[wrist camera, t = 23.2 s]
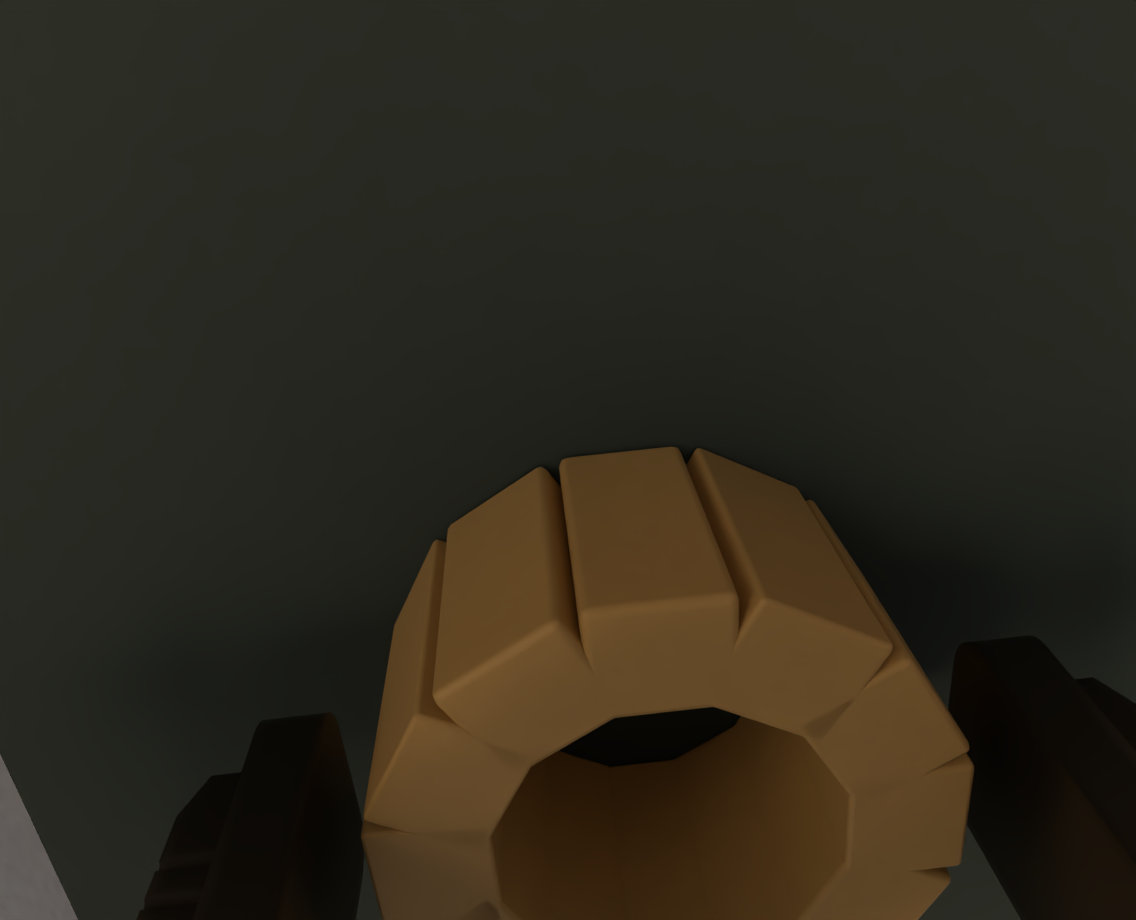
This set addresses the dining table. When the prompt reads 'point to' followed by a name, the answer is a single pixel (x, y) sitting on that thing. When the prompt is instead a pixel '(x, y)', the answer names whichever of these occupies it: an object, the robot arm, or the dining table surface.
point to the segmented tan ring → (655, 685)
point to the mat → (531, 343)
